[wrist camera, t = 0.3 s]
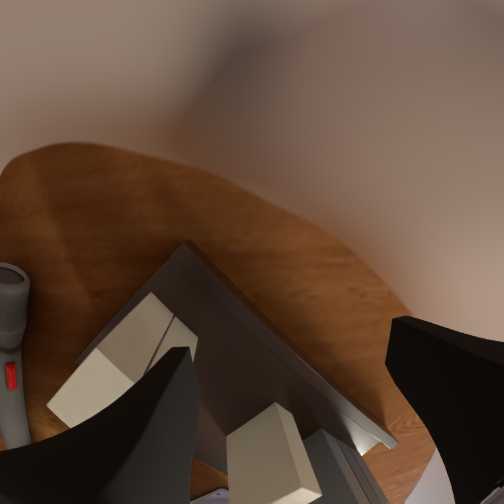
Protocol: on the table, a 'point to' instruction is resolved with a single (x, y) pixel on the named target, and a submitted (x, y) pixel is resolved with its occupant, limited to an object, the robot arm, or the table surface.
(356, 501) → the grey books
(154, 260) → the table surface
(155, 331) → the cream books
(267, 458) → the cream book
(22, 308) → the flashlight
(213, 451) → the book board
